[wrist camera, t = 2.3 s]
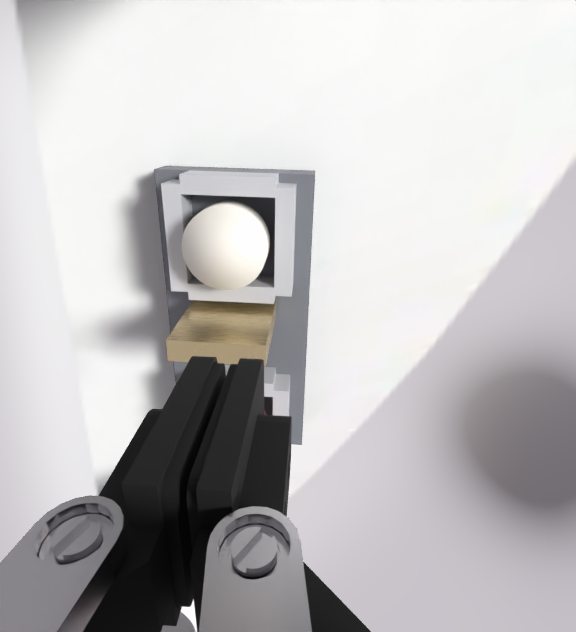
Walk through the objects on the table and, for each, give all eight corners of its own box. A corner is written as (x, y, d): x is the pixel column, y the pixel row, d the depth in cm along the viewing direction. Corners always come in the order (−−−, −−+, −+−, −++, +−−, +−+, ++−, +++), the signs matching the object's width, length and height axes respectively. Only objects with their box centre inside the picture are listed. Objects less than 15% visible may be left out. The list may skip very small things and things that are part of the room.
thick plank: (196, 295, 27) (165, 340, 21) (276, 299, 26) (265, 345, 21) (197, 313, 27) (167, 361, 22) (276, 316, 27) (265, 366, 21)
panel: (165, 165, 26) (140, 173, 22) (315, 170, 25) (314, 178, 22) (188, 425, 34) (173, 461, 30) (302, 432, 33) (300, 470, 30)
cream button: (189, 198, 23) (178, 205, 21) (270, 201, 23) (266, 208, 21) (194, 276, 25) (184, 288, 23) (269, 279, 25) (266, 292, 23)
